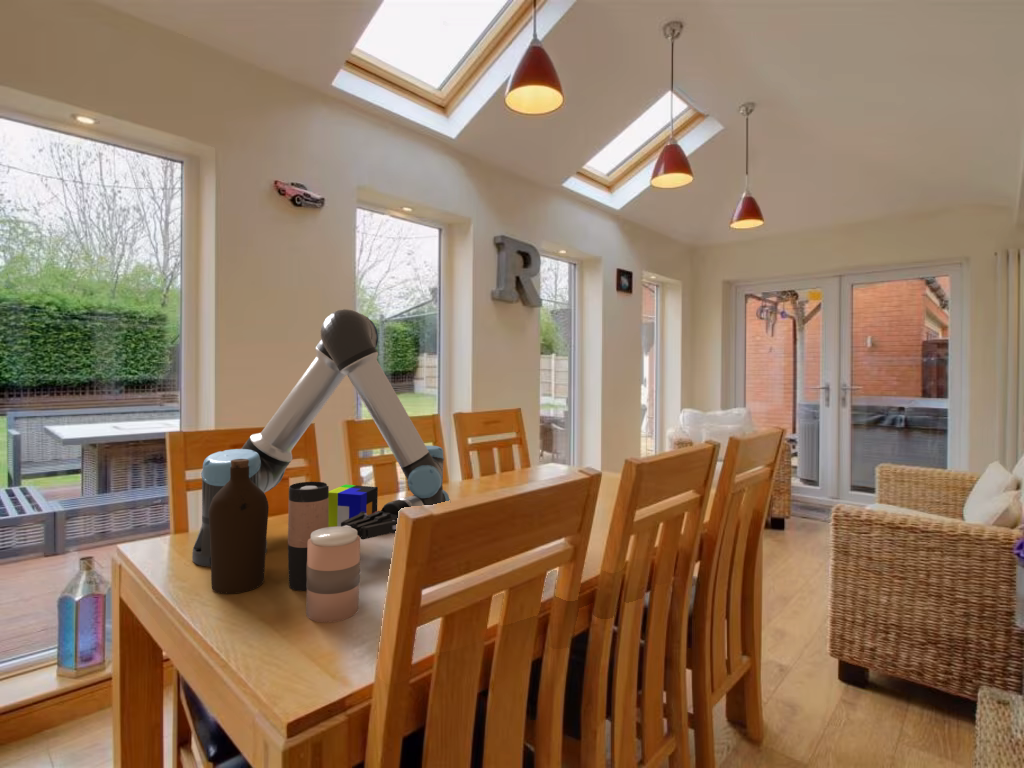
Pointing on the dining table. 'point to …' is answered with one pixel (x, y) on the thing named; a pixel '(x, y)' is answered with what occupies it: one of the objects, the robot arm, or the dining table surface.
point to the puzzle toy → (350, 502)
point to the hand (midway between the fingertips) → (324, 539)
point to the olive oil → (238, 533)
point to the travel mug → (304, 526)
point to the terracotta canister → (333, 574)
